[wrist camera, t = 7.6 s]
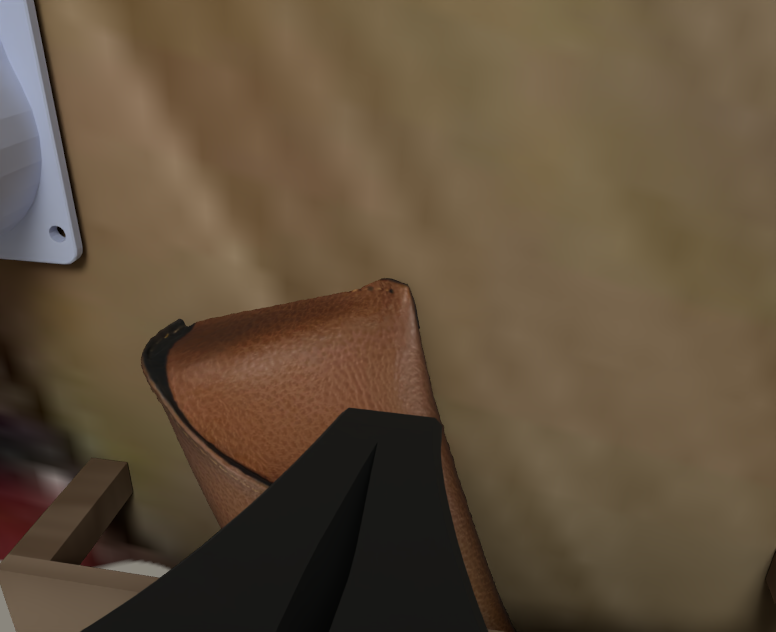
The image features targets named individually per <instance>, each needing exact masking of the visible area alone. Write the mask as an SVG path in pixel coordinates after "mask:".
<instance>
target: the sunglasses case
mask: <svg viewBox="0 0 776 632" xmlns="http://www.w3.org/2000/svg"><path fill="white" fill-rule="evenodd" d="M419 329H420V327H419V321H418V317H417V310H416V305H415V302H414V298H413V296H412V293H411V291H410V288H409V286H408V285H407V284H404V283H401V282H399V281H397V280H394V279H390V278H384V279H380V280H378V281H375V282H373V283H370V284H368V285H366V286H364V287H362V288H361V289H356V290H353V291H350V292H342V293H337V294H332V295H328V296H322V297H317V298H313V299H307V300H300V301H296V302H292V303H287V304H280V305H275V306H272V307H266V308H261V309H255V310H252V311H243V312H240V313H236V314H234V313H233V314H230V315H226V316H222V317H216V318H210V319H207V320H204V321H199V322H196V323H194V324H193V325H191V326H189V327H188V326H186V325H185V323H184V321H183V320H182V319H178V320H177V321H175V322H173V323H172V324H170V325H168V326H167V327H166V328H164V329H162V330H160V331H159V332H158V333H157V335H156V336H154V337H152V338H151V339H150V341H149V342H148V344H147V345H146V347H145V348H144V351H143V353H142V357H141V364H142V365H141V366H142V369H143V373H144V375H145V376H146V379H147V382H148V383H149V385H150V386H151V390H152V391H153V392H154V393H155V394H156V395H157V399H158V401H159V402H160V403H161V404H162V406H163V408H164V410H165V412H166V414H167V416H168V418H169V420H170V423H171V425H172V427H173V429H174V432H175V434H176V436H177V439H178V441H179V443H180V445H181V447H182V449H183V451H184V453H185V456H186V458H187V460H188V462H189V465H190V467H191V469H192V471H193V473H194V475H195V477H196V479H197V481H198V483H199V486H200V487H201V490H202V491H203V494H204V495H205V497H206V499H207V502H208V504H209V506H210V508H211V510H212V511H213V513H214V515H215V517H216V519H217V522H218V523H219V525H220V527H221V529H222V528H223V527H224V526H226V525H227V524H228V523H229V522H230V521H231V520H233V519H234V518H235V517H236V516H237V515H238V514H240V513H241V512H242V511H243V510H244V509H245V508H247V507H248V506H249V505H250V504H251V503H252V502H253V501H254V500H256V499H257V498H258V497H259V496H260V495H261V494H262V493H263V492H264V491H265V490H266V489H267V488H268V487H269V486H270V485H271V484H272V483H274V482H275V481H276V480H277V479H278V478H279V477H280V476H281V475H282V474H283V473H284V472H285V471H286V470H287V469H288V468H289V467H290V466H291V465H292V464H293V463H294V462H295V461H296V460H297V459H298V458H299V457H300V456H301V455H302V454H303V453H304V452H305V451H306V450H307V449H308V448H309V447H310V446H311V445H312V444H313V443H314V442H315V441H316V440H317V439H318V438H319V437H320V436H321V435H322V433H323V432H324V431H325V430H326V429H327V428H328V427H329V426H330V425H331V424H332V423H333V422H334V421H335V419H336V418H337V417H338V416H339V415H340V414H341V413H342V412H344V411H345V410H346V409H348V408H358V409H366V410H375V411H383V412H392V413H400V414H408V415H417V416H425V417H434V418H436V419H437V420H438V421H439V422H440V424H441V425H442V426H443V424H442V423H441V420H440V415H439V413H438V409H437V406H436V402H435V400H434V397H433V392H432V388H431V382H430V378H429V374H428V371H427V367H426V362H425V356H424V352H423V348H422V344H421V337H420V332H419ZM441 461H442V469H443V476H444V483H445V489H446V494H447V499H448V503H449V507H450V512H451V516H452V520H453V524H454V528H455V532H456V536H457V540H458V543H459V547H460V550H461V554H462V557H463V561H464V564H465V567H466V570H467V573H468V576H469V579H470V582H471V585H472V588H473V591H474V594H475V597H476V600H477V603H478V605H479V608H480V611H481V614H482V616H483V619H484V622H485V624H486V627H487V629H491V630H497V631H504V632H516V630H515V628H514V627H513V625H512V623H511V621H510V619H509V616H508V613H507V612H506V609H505V608H504V606H503V603H502V600H501V598H500V595H499V593H498V591H497V588H496V586H495V583H494V581H493V577H492V574H491V572H490V570H489V568H488V564H487V561H486V558H485V556H484V553H483V549H482V546H481V543H480V540H479V538H478V535H477V532H476V529H475V525H474V523H473V520H472V515H471V513H470V512H469V508H468V505H467V500H466V497H465V494H464V493H463V490H462V487H461V483H460V480H459V478H458V475H457V471H456V468H455V464H454V459H453V456H452V454H451V452H450V447H449V444H448V442H447V440H446V437H445V434H444V426H443V427H442V442H441Z"/></svg>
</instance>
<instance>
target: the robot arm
mask: <svg viewBox="0 0 776 632" xmlns="http://www.w3.org/2000/svg"><path fill="white" fill-rule="evenodd" d="M57 226H58V227H60V228H62V229H63V230H64V232H65V234H66V238H65V237H63V236H61V235H60V234H59V232H58V230H57ZM82 253H83V247H82V242H81V237H80V232H79V227H78V222H77V217H76V212H75V207H74V202H73V197H72V191H71V186H70V181H69V176H68V171H67V166H66V161H65V156H64V151H63V146H62V141H61V136H60V131H59V126H58V121H57V116H56V111H55V106H54V101H53V96H52V91H51V86H50V81H49V76H48V71H47V66H46V61H45V56H44V51H43V46H42V40H41V35H40V30H39V25H38V20H37V15H36V10H35V5H34V0H0V259H9V260H20V261H31V262H42V263H53V264H71V263H73V262H74V261H76V260H77V259H79V258H80V257H81V255H82ZM442 427H443V426H442V425H441V424H440V422H439V421H438V420H437V419H436V418H434V417H425V416H417V415H408V414H400V413H392V412H383V411H375V410H366V409H358V408H348V409H346V410H345V411H344V412H342V413H341V414H340V415H339V416H338V417H337V418H336V419H335V421H334V422H333V423H332V424H331V425H330V426H329V427H328V428H327V429H326V430H325V431H324V432H323V433H322V435H321V436H320V437H319V438H318V439H317V440H316V441H315V442H314V443H313V444H312V445H311V446H310V447H309V448H308V449H307V450H306V451H305V452H304V453H303V454H302V455H301V456H300V457H299V458H298V459H297V460H296V461H295V462H294V463H293V464H292V465H291V466H290V467H289V468H288V469H287V470H286V471H285V472H284V473H283V474H282V475H281V476H280V477H279V478H278V479H277V480H276V481H275V482H274V483H272V484H271V485H270V486H269V487H268V488H267V489H266V490H265V491H264V492H263V493H262V494H261V495H260V496H259V497H258V498H257V499H256V500H254V501H253V502H252V503H251V504H250V505H249V506H248V507H247V508H245V509H244V510H243V511H242V512H241V513H240V514H238V515H237V516H236V517H235V518H234V519H233V520H231V521H230V522H229V523H228V524H227V525H226V526H224V527H223V528H222V529H221V530H220V531H219V532H217V533H216V534H215V535H214V536H213V537H212V538H210V539H209V540H208V541H207V542H206V543H204V544H203V545H202V546H201V547H199V548H198V549H197V550H196V551H194V552H193V553H192V554H190V555H189V556H188V557H187V558H185V559H184V560H183V561H182V562H180V563H179V564H178V565H176V566H175V567H174V568H172V569H171V570H170V571H168V572H167V573H166V574H164V575H163V576H162V577H160V578H159V579H157V580H156V581H155V582H153V583H152V584H150V585H149V586H148V587H146V588H145V589H144V590H142V591H141V592H139V593H138V594H137V595H135V596H134V597H132V598H131V599H129V600H128V601H126V602H125V603H123V604H122V605H120V606H119V607H117V608H116V609H114V610H113V611H111V612H110V613H108V614H107V615H105V616H104V617H102V618H101V619H99V620H97V621H96V622H94V623H93V624H91V625H90V626H88V627H86V628H85V629H83V630H82V631H80V632H488V630H487V627H486V624H485V622H484V619H483V616H482V614H481V611H480V608H479V605H478V603H477V600H476V597H475V594H474V591H473V588H472V585H471V582H470V579H469V576H468V573H467V570H466V567H465V564H464V561H463V557H462V554H461V550H460V547H459V543H458V540H457V536H456V532H455V528H454V524H453V520H452V516H451V512H450V507H449V503H448V499H447V494H446V489H445V483H444V476H443V469H442V461H441V442H442Z"/></svg>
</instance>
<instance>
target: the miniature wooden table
mask: <svg viewBox="0 0 776 632" xmlns="http://www.w3.org/2000/svg"><path fill="white" fill-rule="evenodd" d="M132 493H133V489H132V484H131V479H130V474H129V469H128V464H127V462H120V461H112V460H105V459H97V458H91V459H90V460H89V461H88V463H87V464H86V465H85V466H84V467H83V468H82V469H81V471H80V472H79V473H78V474H77V475H76V476H75V478H74V479H73V480H72V481H71V482H70V483H69V484H68V486H67V487H66V488H65V489H64V490H63V491H62V493H61V494H60V495H59V496H58V497H57V498H56V499H55V501H54V502H53V503H52V504H51V505H50V506H49V508H48V509H47V510H46V511H45V512H44V513H43V514H42V516H41V517H40V518H39V519H38V520H37V521H36V523H35V524H34V525H33V526H32V527H31V528H30V529H29V531H28V532H27V533H26V534H25V535H24V536H23V538H22V539H21V540H20V541H19V542H18V543H17V545H16V546H15V547H14V548H13V549H12V550H11V551H10V553H9V554H8V555H7V556H6V557H5V558H4V560H3V561H2V562H1V563H0V585H1V588H2V591H3V594H4V597H5V600H6V603H7V605H8V609H9V612H10V615H11V618H12V621H13V623H14V627H15V629H16V632H80V631H82V630H83V629H85V628H86V627H88V626H90V625H91V624H93V623H94V622H96V621H97V620H99V619H101V618H102V617H104V616H105V615H107V614H108V613H110V612H111V611H113V610H114V609H116V608H117V607H119V606H120V605H122V604H123V603H125V602H126V601H128V600H129V599H131V598H132V597H134V596H135V595H137V594H138V593H139V592H141V591H142V590H144V589H145V588H146V587H148V586H149V585H150V584H152V583H153V582H155V581H156V580H157V579H159V578H157V577H151V576H145V575H138V574H131V573H125V572H119V571H113V570H106V569H100V568H93V567H87V566H81V565H80V564H81V563H82V561H83V560H84V558H85V557H86V556H87V554H88V553H89V552H90V550H91V549H92V548H93V546H94V545H95V543H96V542H97V541H98V539H99V538H100V537H101V535H102V534H103V532H104V531H105V530H106V528H107V527H108V526H109V524H110V523H111V522H112V520H113V519H114V517H115V516H116V515H117V513H118V512H119V511H120V509H121V508H122V507H123V505H124V504H125V502H126V501H127V500H128V498H129V497H130V496H131V494H132ZM765 580H766V582H767V585H768V587H769V590H770V592H771V595H772V597H773V600H774V602H775V605H776V552H775V555H774V558H773V560H772V563H771V566H770V568H769V571H768V574H767V576H766V579H765ZM487 630H488V632H504V631H497V630H491V629H487Z"/></svg>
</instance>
